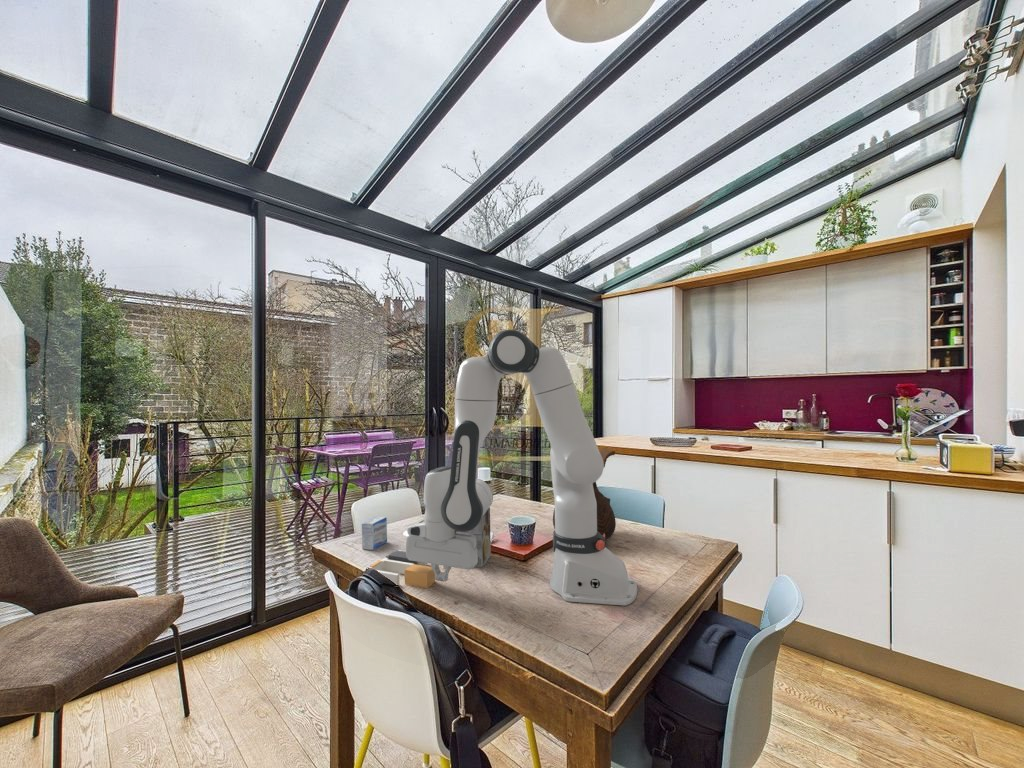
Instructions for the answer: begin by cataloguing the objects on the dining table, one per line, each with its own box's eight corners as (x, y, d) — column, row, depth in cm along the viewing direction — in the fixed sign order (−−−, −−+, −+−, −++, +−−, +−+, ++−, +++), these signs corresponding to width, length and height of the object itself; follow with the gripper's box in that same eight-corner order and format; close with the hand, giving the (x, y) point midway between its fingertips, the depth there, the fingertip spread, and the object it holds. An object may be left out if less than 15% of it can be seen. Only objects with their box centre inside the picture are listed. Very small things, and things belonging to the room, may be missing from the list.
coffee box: (471, 554, 139) (470, 503, 139) (491, 555, 137) (490, 504, 137) (462, 566, 130) (461, 511, 130) (483, 567, 128) (482, 512, 128)
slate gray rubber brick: (417, 566, 130) (416, 553, 130) (409, 572, 127) (408, 558, 127) (397, 563, 133) (396, 550, 133) (388, 568, 129) (388, 555, 129)
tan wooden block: (435, 582, 120) (435, 567, 120) (427, 588, 116) (427, 573, 116) (413, 578, 122) (413, 564, 122) (404, 584, 119) (404, 569, 119)
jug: (619, 553, 137) (618, 457, 137) (550, 550, 141) (549, 456, 141) (615, 530, 159) (614, 447, 159) (555, 528, 162) (554, 446, 162)
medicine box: (373, 550, 143) (372, 524, 143) (361, 549, 144) (361, 522, 144) (387, 542, 150) (387, 516, 150) (376, 541, 152) (376, 515, 152)
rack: (427, 564, 131) (427, 553, 131) (397, 586, 117) (397, 574, 117) (398, 559, 135) (398, 549, 135) (365, 580, 121) (365, 568, 121)
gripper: (481, 528, 116) (482, 581, 116) (415, 520, 123) (416, 570, 123) (470, 536, 110) (471, 591, 110) (402, 527, 118) (402, 579, 118)
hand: (441, 580), depth 117 cm, fingers closed
